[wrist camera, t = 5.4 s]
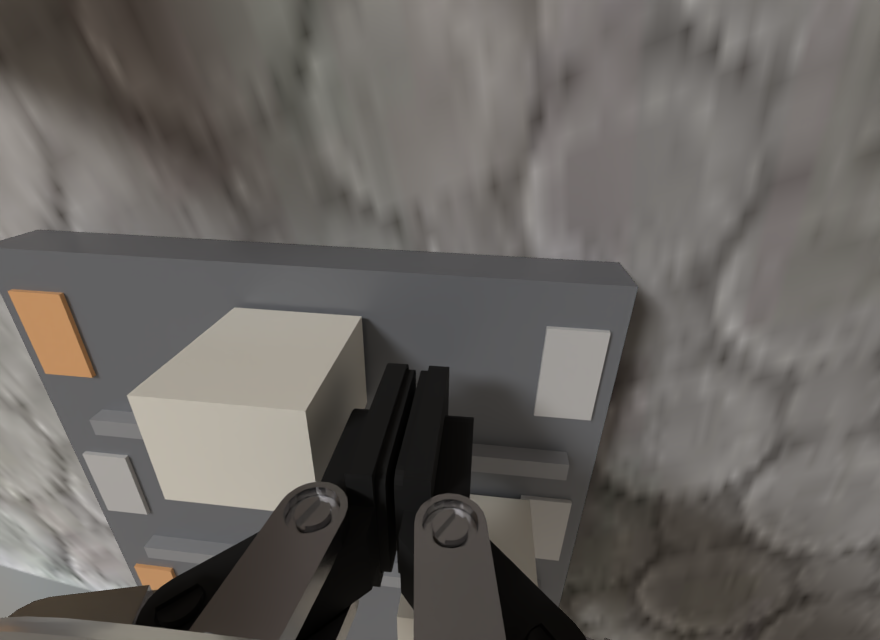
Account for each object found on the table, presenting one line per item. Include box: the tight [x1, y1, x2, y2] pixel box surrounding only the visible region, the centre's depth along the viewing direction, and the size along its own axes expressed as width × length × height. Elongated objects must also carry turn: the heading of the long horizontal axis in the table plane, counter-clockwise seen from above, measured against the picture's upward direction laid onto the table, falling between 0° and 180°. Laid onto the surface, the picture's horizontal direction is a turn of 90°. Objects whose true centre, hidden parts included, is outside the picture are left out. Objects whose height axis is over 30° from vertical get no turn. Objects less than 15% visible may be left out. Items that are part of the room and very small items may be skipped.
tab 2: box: [397, 494, 538, 640], centre depth 15 cm, size 4×3×4 cm
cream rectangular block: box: [127, 307, 367, 511], centre depth 12 cm, size 4×3×4 cm
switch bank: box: [0, 230, 638, 640], centre depth 18 cm, size 20×20×3 cm
